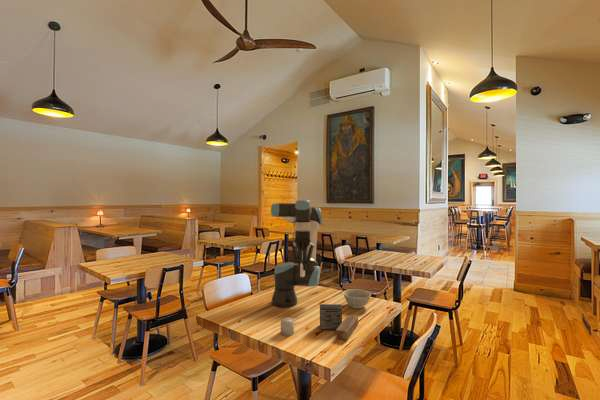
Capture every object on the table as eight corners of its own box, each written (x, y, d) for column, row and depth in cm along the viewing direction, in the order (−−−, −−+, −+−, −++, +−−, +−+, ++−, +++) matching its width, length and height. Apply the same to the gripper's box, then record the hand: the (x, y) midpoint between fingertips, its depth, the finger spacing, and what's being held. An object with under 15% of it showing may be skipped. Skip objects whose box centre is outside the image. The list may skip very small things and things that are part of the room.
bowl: (350, 299, 180) (350, 287, 180) (375, 304, 171) (375, 292, 171) (338, 307, 167) (338, 294, 167) (364, 313, 158) (364, 300, 158)
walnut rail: (336, 338, 131) (336, 329, 131) (348, 322, 147) (348, 314, 147) (347, 341, 129) (347, 332, 129) (357, 324, 145) (357, 316, 145)
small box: (341, 324, 145) (341, 303, 145) (342, 331, 138) (342, 308, 138) (319, 324, 145) (319, 303, 145) (319, 330, 139) (319, 308, 139)
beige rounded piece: (278, 334, 134) (278, 321, 134) (284, 329, 140) (283, 316, 140) (291, 336, 132) (290, 323, 132) (295, 331, 138) (295, 318, 138)
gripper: (287, 230, 149) (287, 276, 150) (311, 231, 143) (311, 279, 144) (294, 228, 156) (294, 273, 156) (317, 230, 150) (317, 276, 151)
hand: (302, 276), depth 150 cm, fingers closed
